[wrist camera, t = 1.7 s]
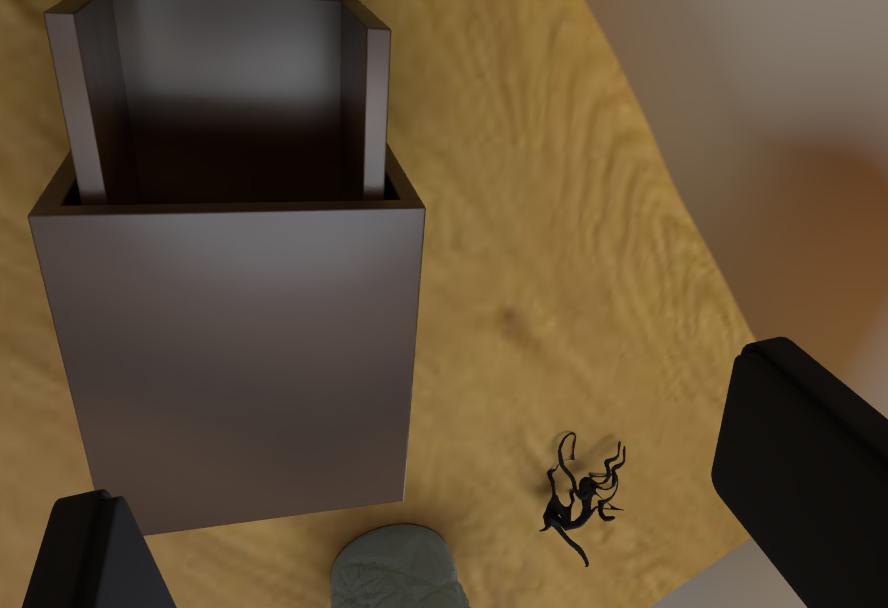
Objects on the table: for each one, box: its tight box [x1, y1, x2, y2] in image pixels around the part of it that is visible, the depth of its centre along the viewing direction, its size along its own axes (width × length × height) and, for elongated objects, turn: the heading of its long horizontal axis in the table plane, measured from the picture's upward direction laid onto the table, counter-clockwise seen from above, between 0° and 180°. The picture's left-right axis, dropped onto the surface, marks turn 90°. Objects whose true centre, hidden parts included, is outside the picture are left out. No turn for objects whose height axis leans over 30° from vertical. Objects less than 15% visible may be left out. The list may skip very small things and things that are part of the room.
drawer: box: [43, 0, 391, 206], centre depth 24 cm, size 18×11×8 cm, turn 172°
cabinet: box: [28, 144, 426, 536], centre depth 30 cm, size 15×13×10 cm
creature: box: [540, 433, 625, 567], centre depth 46 cm, size 8×5×8 cm
